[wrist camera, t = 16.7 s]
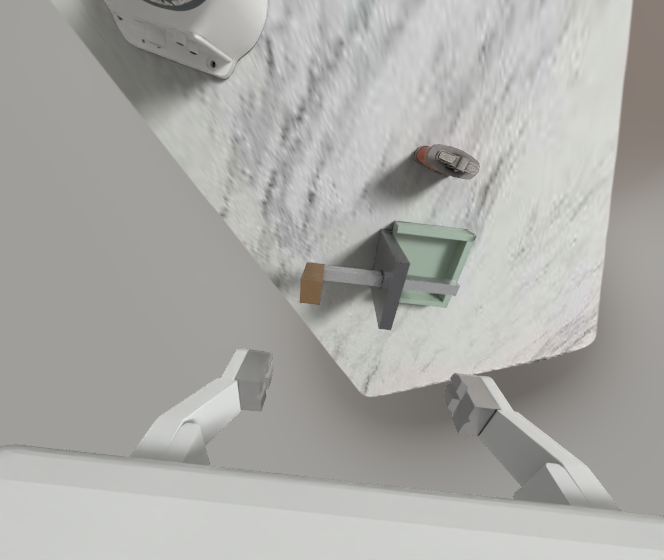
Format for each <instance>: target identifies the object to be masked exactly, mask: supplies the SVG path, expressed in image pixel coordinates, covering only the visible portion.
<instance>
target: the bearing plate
mask: <svg viewBox="0 0 664 560" xmlns="http://www.w3.org/2000/svg"><path fill="white" fill-rule="evenodd" d="M409 266H410V262H409V261H408V259H407V257H406V255H405V254H404V252H403V250H402V249H401V247H400V245H399V244H398V242H397V240H396V239H395V237H394V235H393V233H392V232H391V230H383V229H381V231H380V235H379V240H378V245H377V250H376V254H375V259H374V264H373V268H372V270H373V271H381V272H383V273H384V279H383V283H382V287H376V286H371V291H372V296H373V301H374V306H375V312H376V317H377V322H378V327H379V329H387V330H391V328H392V324H393V321H394V318H395V314H396V311H397V307H398V304H399V301H400V297H401V294H402V290H403V287H404V283H405V280H406V277H407V273H408V270H409Z"/></svg>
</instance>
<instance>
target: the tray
mask: <svg viewBox="0 0 664 560" xmlns="http://www.w3.org/2000/svg"><path fill="white" fill-rule="evenodd" d="M392 233H393V235H394V237H395V239H396V240H397V242H398V244H399V245H400V247H401V249H402V250H403V252H404V254H405V255H406V257H407V259H408V261H409V262H410V266H409V270H408V273H407V275H415V276H423V277H432V278H440V279H449V280H455V281H456V282H457V281H458V279H459V277H460V274H461V272H462V269H463V267H464V264H465V262H466V260H467V257H468V255H469V252H470V250H471V248H472V245H473V243H474V240H475V238H476V235H475V234H473V233H472V232H470V231H468V230H467V229H460V228H452V227H443V226H435V225H427V224H418V223H410V222H402V221H394V225H393V229H392ZM451 296H452V295H444V294H436V293H427V292H419V291H410V290H402V294H401V297H400V301H399V302H401V303H409V304H418V305H426V306H435V307H444V308H447V306H448V303H449V301H450V298H451Z"/></svg>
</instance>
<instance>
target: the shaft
mask: <svg viewBox="0 0 664 560" xmlns="http://www.w3.org/2000/svg"><path fill="white" fill-rule="evenodd" d="M383 279H384V273H383V272H381V271H373V270H364V269H356V268H347V267H339V266H330V265H325V264H317V263H308V262H307V264H306V266H305V269H304V272H303V275H302V278H301V290H300V303H308V304H317V305H320V299H321V293H322V287H323V280H325V281H334V282H342V283H351V284H359V285H368V286H376V287H382V283H383ZM459 287H460V286H459V284H458V283H457V282H456V281H455V280H449V279H440V278H432V277H423V276H415V275H407V277H406V280H405V283H404V287H403V290H410V291H419V292H427V293H436V294H444V295H453V296H456V294H457V291H458V289H459Z"/></svg>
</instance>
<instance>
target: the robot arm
mask: <svg viewBox="0 0 664 560" xmlns="http://www.w3.org/2000/svg"><path fill="white" fill-rule="evenodd" d="M104 1H105V3H106V4H107V5H108V7H109V9H110V11H111V14H112V16H113V18H114V20H115V22H116V24H117V26H118V28H119V30H120V31H121V33H122V34H123V36H124V37H125V39H126V40H127V41H128V42H129V43H131V44H132V45H134V46H136V47H138V48H140V49H143V50H146V51H148V52H151V53H154V54H156V55H159V56H162V57H165V58H167V59H170V60H173V61H175V62H178V63H181V64H184V65H186V66H189V67H192V68H194V69H197V70H200V71H203V72H205V73H208V74H211V75H214V76H216V77H219V78H222V79H227V78H228V77H229V76H230V75H231V73H232V72H233V70H234V67H235V65H236V63H237V61H238V60H239V59H240V58H241V57H242V56H243V55H245V54H246V53H247V52H248V51H249V50H250V49H251V48H252V47H253V46H254V45H255V43H256V42H257V40H258V38H259V37H260V34H261V32H262V30H263V27H264V23H265V19H266V14H267V4H268V0H104ZM121 18H123V19H122V20H121ZM213 62H215V63H216V67H215V68H213V66H212V64H213ZM272 359H273V355H272V353H271V352H264V351H257V350H248V349H241V348H238V349H237V350H236V351H235V353H234V355H233V356H232V358H231V360H230V362H229V363H228V365H227V367H226V369H225V371H224V372H223V374H222V376H221V378H220V379H219V378H216V379H215V380H213V381H212V382H210V383H209V384H208V385H206V386H204V387H203V388H201V389H200V390H198V391H197V392H195V393H194V394H193V395H191V396H189V397H188V398H186V399H185V400H183V401H182V402H181V403H179V404H177V405H176V406H174V407H173V408H172V409H170V410H169V411H167V412H166V413H164V414H163V415H161V416H160V417H158V418H157V419H156V420H155V422H154V423H153V425H152V426H151V427H150V429H149V430H148V432H147V433H146V435H145V436H144V437H143V439H142V440H141V441H140V443H139V444H138V446H137V447H136V448H135V450H134V451H133V453H132V454H131V455H130V457H124V456H115V455H106V454H96V453H87V452H79V451H70V450H60V449H52V448H43V447H35V446H26V445H5V446H1V447H0V560H664V516H662V515H653V514H643V513H635V512H626V511H621V509H620V508H619V507H618V506H617V504H616V503H615V502H614V500H613V499H612V498H611V496H610V495H609V494H608V493H607V491H606V490H605V489H604V488H603V486H602V485H601V484H600V482H599V481H598V480H597V478H596V477H595V476H594V474H592V472H591V471H590V469H589V468H588V467H587V466H586V465H585V464H583V463H582V462H581V461H580V460H578V459H577V458H576V457H575V456H573V455H572V454H571V453H569V452H568V451H567V450H565V449H564V448H563V447H562V446H560V445H559V444H558V443H557V442H555V441H554V440H553V439H551V438H550V437H549V436H547V435H546V434H545V433H544V432H542V431H541V430H540V429H538V428H537V427H536V426H535V425H533V424H532V423H531V422H529V421H528V420H527V419H525V418H524V417H523V416H522V415H521V414H519V413H518V412H514V411H513V409H512V408H511V406H510V405H509V403H508V402H507V400H506V399H505V397H504V396H503V394H502V393H501V391H500V390H499V389H498V387H497V385H496V384H495V382H494V381H493V379H491V378H490V377H486V376H476V375H468V374H458V373H455V374H453V375H452V377H451V381H452V383H450V384H449V385H447V387H446V389H445V394H444V397H445V402H446V405H447V407H448V409H450V411H452V412H453V415H452V420H453V422H454V425H455V427H456V430H457V432H458V433H459V434H466V435H472V436H479V437H478V438H479V439H480V440H481V441H482V442H483V443H484V445H485V446H486V447H487V448H488V449H489V450H490V451H491V453H492V454H493V455H494V456H495V457H496V458H497V459H498V460H499V462H500V463H501V464H502V465H503V466H504V467H505V468H506V469H507V470H508V472H509V473H510V474H511V475H512V476H513V477H514V479H515V480H516V481H517V482H518V483H519V484H520V485H521V486H522V487H521V488H520V489H518V490H517V491H516V492H515V493H514V496H513V498H514V499H506V498H498V497H488V496H479V495H471V494H461V493H452V492H443V491H434V490H425V489H416V488H407V487H398V486H389V485H380V484H371V483H362V482H353V481H343V480H334V479H324V478H315V477H307V476H298V475H289V474H280V473H270V472H261V471H251V470H242V469H234V468H225V467H215V466H209V465H210V462H209V459H208V455H207V451H206V448H205V446H206V445H207V444H208V443H209V442H210V441H211V440H212V439H213V438H214V437H215V436H216V435H217V434H218V433H219V432H220V431H221V430H222V429H223V428H224V427H225V426H226V425H227V424H228V423H229V422H230V421H231V420H232V419H233V418H234V417H235V416H236V415H237V414H238V413H239V412H240V411H241V410H250V411H262V408H263V405H264V401H265V398H266V390H267V389H268V388H269V386H270V383H271V379H272V373H273V365H272V364H271V362H272Z"/></svg>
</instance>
